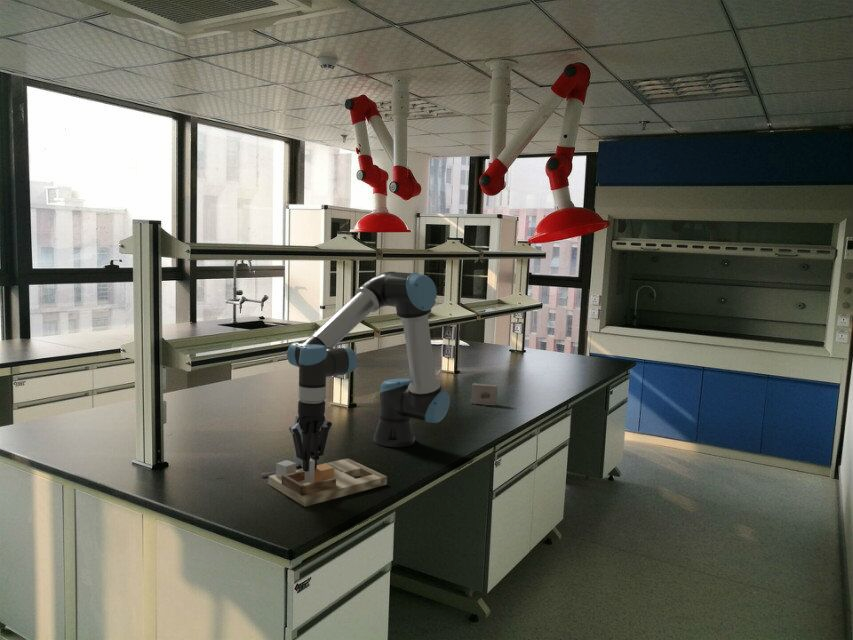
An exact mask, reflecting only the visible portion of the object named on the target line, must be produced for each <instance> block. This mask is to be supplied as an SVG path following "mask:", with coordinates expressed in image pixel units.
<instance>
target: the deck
mask: <svg viewBox="0 0 853 640" xmlns="http://www.w3.org/2000/svg"><path fill="white" fill-rule="evenodd" d="M325 463H326V464H328V465H330V466H332V467H334V478H335V479H336V487H335V488H332V489H328V490H324V491H320V492H316V493H312V494H308V495H304V496H301V495H300V494H298V493H296V492H295V491H293V490H291V489H290V488H288V487H286V486H285V485H283V484H282V478H279V477H276V475H271V476H269V477H268V480H267V481H268V485H269V486H271V488H274V489H275V490H277V491H278V492H281V494H283V495H285V496H287V497H288V498H290V499H291V500H292V501H295V502H296V503H298V504H299V505H301V506H302V507H308V506H313V505H315V504H319V503H323V502H326V501H331V500H335V499H338V498H342V497H346V496H349V495H353V494H357V493H361V492H364V491H369V490H371V489H375V488H378V487H382V486H386V485H388V484H387V483H388V476H387V475H385V474H383V473H380V472H378V471H376V470H374V469H372V468H371V467H370V468H369V467H367V466H365V465H363V464H361V463H359V462H356V461H355V460H353V459H350V458H349V457H348V458H343V459H338V460H335V461H330V462H324V463H323V464H325ZM321 464H322V463H319V464H318V465H321ZM299 471H303V468H302V467H301V468H299V469H296V472H299ZM298 482H299V483H301V484H302V485H307V484H311V483H308V482H306V481H305V480H302V481H298ZM313 483H314V482H313Z"/></svg>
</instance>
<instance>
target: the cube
mask: <svg viewBox="0 0 853 640" xmlns="http://www.w3.org/2000/svg"><path fill="white" fill-rule="evenodd" d="M324 463H325V464H324ZM324 463H320V464H321V465H319V464H317V468H316V470H315V471H314V483H315V482H319V481H323V480H327V479H332V478H334V467H332V466H330V465H328V464H326V463H327V462H324Z"/></svg>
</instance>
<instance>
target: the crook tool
mask: <svg viewBox="0 0 853 640" xmlns="http://www.w3.org/2000/svg"><path fill="white" fill-rule="evenodd" d="M271 475H276V470H274V471H267V472H260V477H261V478H262V479H264V478H269V476H271Z"/></svg>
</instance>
